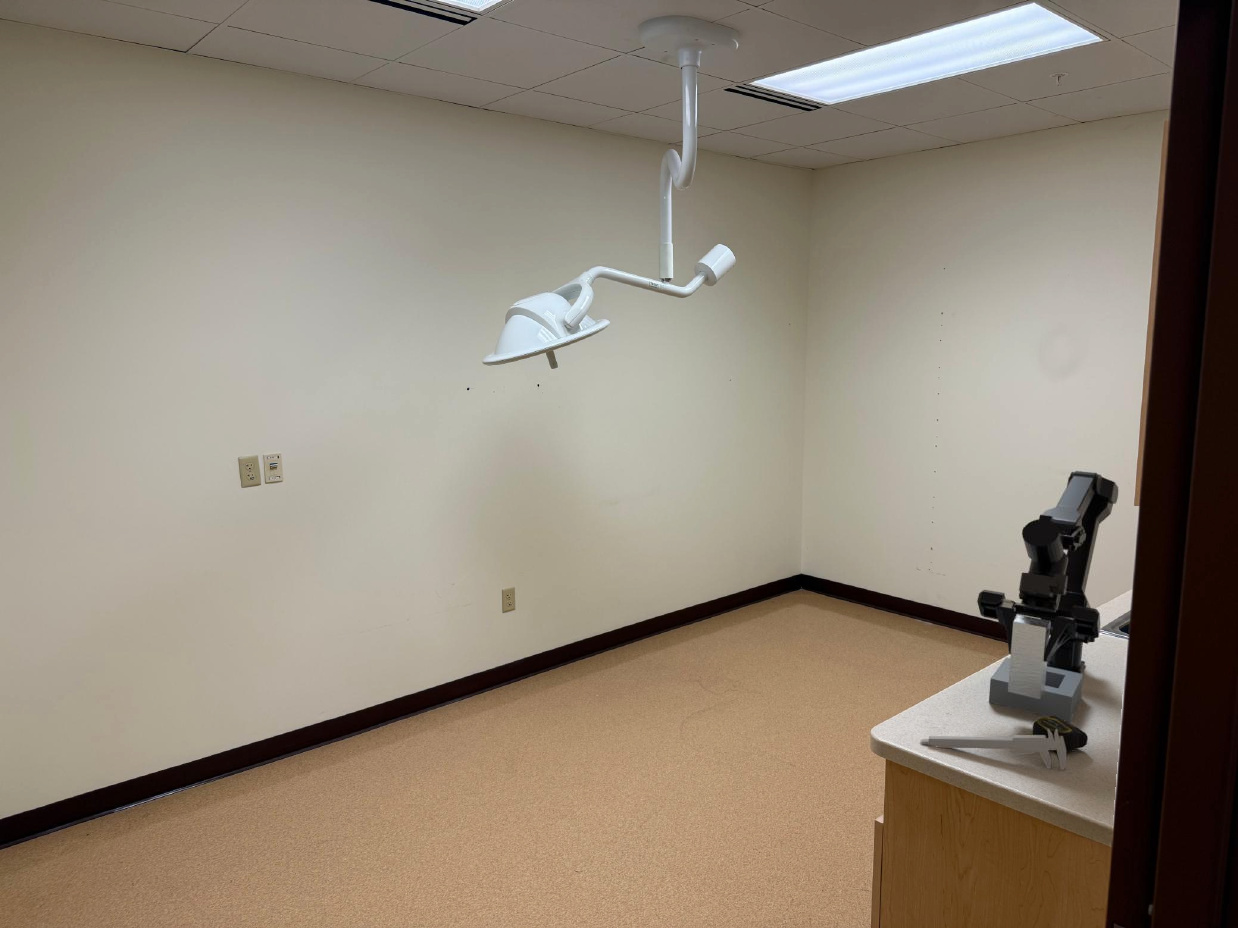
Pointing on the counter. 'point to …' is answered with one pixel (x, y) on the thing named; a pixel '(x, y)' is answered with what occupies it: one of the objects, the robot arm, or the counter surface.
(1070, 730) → the tape measure
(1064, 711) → the block
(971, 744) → the caliper
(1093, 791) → the counter surface
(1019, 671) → the light gray rectangular block
